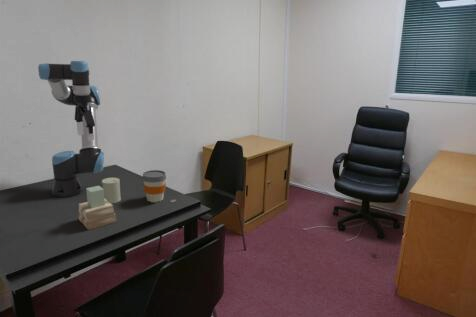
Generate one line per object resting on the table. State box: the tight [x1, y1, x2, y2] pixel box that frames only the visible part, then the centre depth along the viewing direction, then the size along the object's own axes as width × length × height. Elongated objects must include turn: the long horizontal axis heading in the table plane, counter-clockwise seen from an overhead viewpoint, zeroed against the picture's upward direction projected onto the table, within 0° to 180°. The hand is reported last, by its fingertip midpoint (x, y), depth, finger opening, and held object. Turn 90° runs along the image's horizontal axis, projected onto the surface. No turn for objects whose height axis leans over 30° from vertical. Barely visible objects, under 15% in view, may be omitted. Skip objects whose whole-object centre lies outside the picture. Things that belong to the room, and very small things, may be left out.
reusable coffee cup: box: [142, 169, 167, 203], centre depth 192 cm, size 13×13×15 cm
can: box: [101, 177, 122, 204], centre depth 189 cm, size 9×9×12 cm
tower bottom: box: [77, 211, 117, 231], centre depth 166 cm, size 13×13×4 cm
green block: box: [85, 185, 105, 208], centre depth 163 cm, size 6×6×8 cm
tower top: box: [78, 198, 115, 221], centre depth 165 cm, size 12×12×4 cm
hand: (85, 137), depth 172 cm, fingers open, 13 cm apart
